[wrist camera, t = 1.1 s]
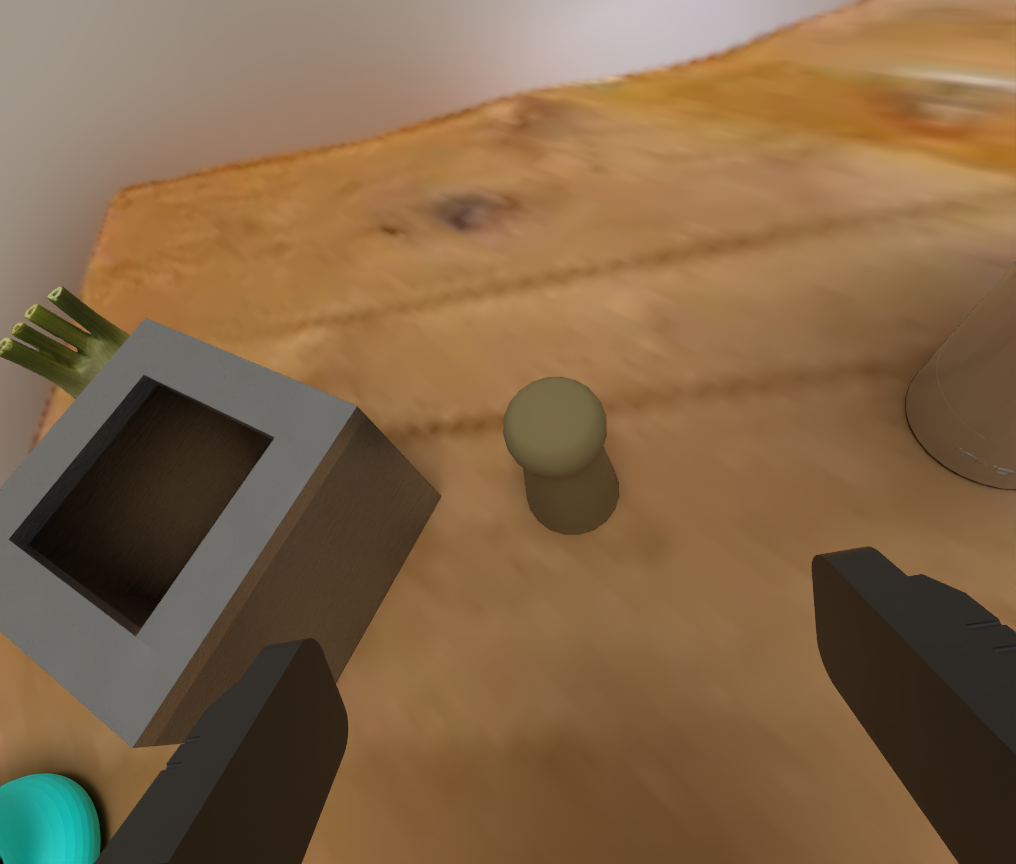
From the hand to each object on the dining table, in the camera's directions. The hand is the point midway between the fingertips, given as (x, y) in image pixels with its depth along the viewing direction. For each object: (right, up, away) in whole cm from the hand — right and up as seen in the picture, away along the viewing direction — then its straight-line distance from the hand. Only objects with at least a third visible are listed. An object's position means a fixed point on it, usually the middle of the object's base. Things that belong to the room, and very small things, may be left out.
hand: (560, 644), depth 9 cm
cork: (+3, 0, +27) cm, 27 cm away
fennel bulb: (-30, +6, +38) cm, 49 cm away
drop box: (-16, -5, +29) cm, 33 cm away
